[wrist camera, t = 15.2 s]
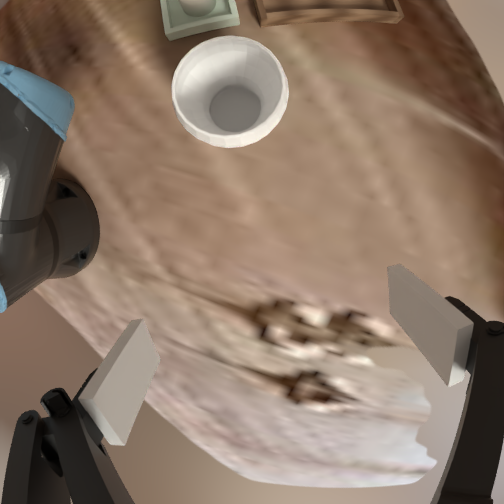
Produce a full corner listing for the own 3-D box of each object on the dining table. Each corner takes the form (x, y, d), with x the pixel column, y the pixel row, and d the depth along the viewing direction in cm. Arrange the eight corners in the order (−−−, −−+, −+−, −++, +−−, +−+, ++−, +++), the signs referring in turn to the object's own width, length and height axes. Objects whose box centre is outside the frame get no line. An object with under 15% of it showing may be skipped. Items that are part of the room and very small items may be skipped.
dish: (169, 41, 34) (165, 34, 31) (162, -8, 31) (158, -16, 28) (239, 24, 33) (239, 17, 31) (227, -24, 30) (226, -32, 28)
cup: (180, 126, 37) (141, 107, 23) (225, 62, 35) (210, 12, 20) (248, 167, 39) (246, 169, 24) (293, 102, 36) (316, 69, 22)
